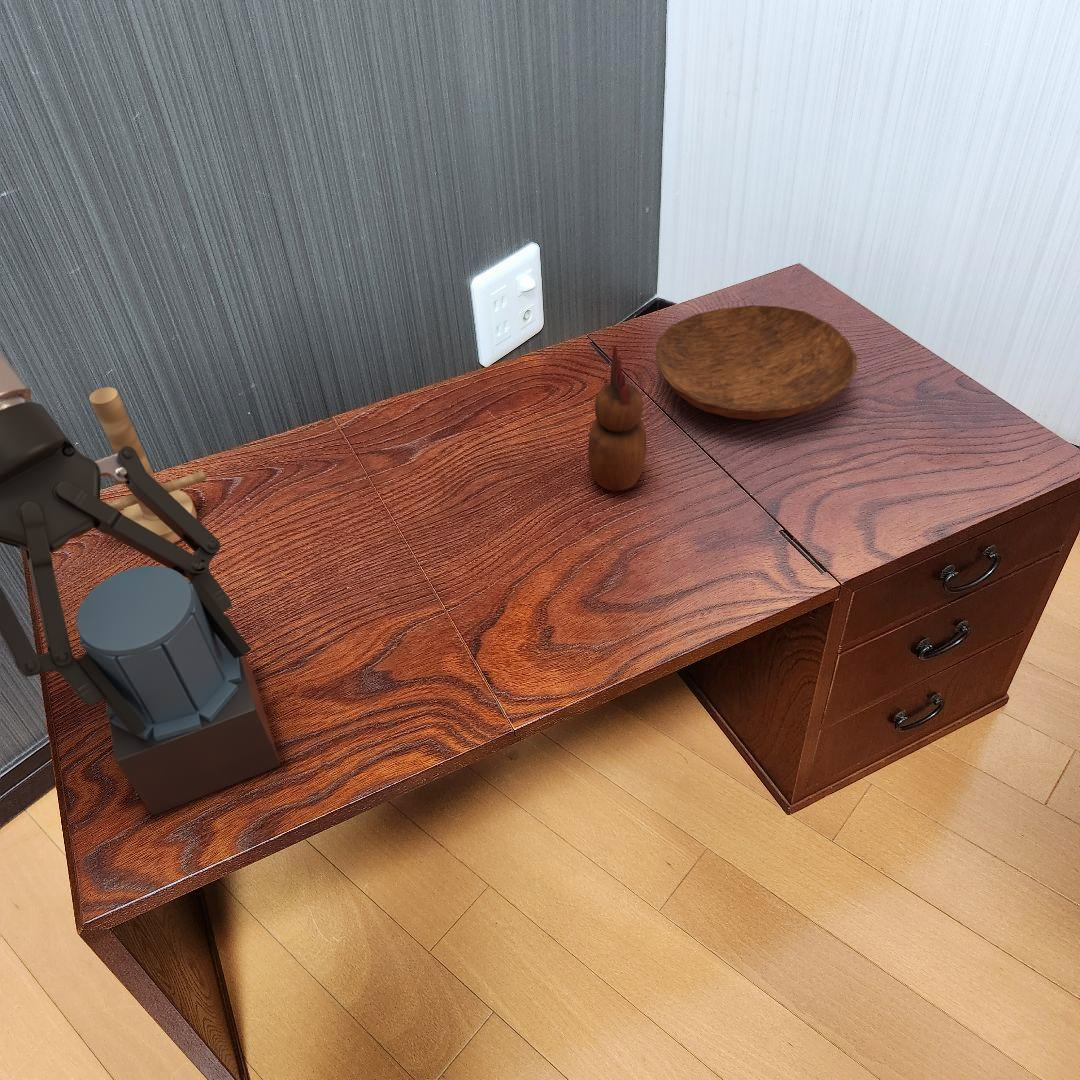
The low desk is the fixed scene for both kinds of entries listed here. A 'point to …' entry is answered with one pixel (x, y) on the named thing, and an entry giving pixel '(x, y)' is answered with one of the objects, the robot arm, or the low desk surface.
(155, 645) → the hat
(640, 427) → the wooden figurine
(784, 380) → the bowl
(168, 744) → the riser
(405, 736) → the low desk surface
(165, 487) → the hat stand
